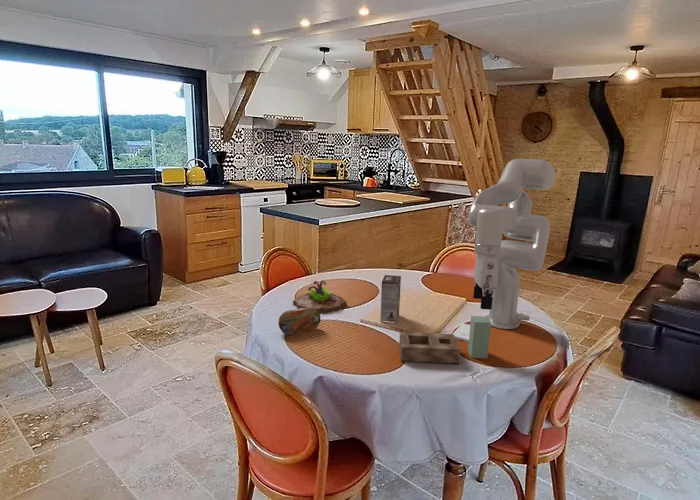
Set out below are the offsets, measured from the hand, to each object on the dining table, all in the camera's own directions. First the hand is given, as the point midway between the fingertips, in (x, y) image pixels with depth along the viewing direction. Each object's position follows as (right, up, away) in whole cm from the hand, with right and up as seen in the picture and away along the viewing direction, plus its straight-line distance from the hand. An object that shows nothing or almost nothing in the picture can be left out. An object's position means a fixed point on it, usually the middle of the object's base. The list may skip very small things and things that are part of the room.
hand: (481, 303), depth 137 cm
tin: (-59, -12, +19) cm, 63 cm away
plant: (-53, -7, +46) cm, 70 cm away
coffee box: (-26, -10, +32) cm, 42 cm away
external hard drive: (+1, -14, +19) cm, 24 cm away
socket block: (-16, -17, +3) cm, 23 cm away
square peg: (0, -17, +5) cm, 17 cm away
